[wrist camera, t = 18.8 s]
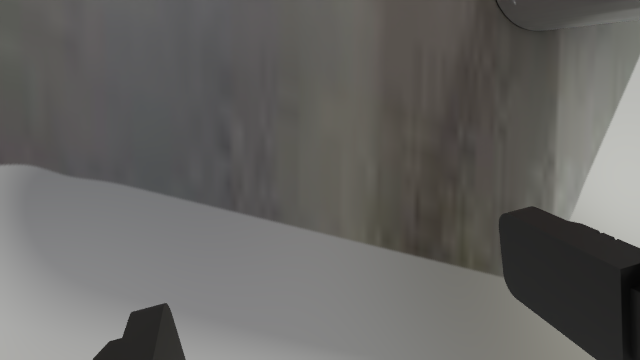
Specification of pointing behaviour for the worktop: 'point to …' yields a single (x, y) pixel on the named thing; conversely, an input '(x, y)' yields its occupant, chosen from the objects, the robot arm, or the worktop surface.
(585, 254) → the robot arm
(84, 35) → the worktop surface
